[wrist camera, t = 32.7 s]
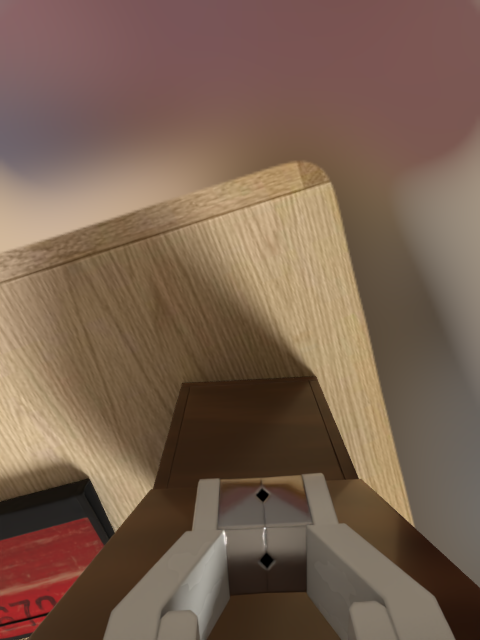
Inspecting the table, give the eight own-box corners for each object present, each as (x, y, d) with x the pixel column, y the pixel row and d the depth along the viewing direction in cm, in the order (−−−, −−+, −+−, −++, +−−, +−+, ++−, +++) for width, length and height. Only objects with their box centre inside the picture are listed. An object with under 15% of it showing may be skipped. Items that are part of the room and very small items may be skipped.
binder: (-131, 550, 38) (81, 493, 36) (-111, 529, 40) (89, 475, 39) (-40, 658, 44) (148, 613, 42) (-27, 634, 46) (152, 590, 44)
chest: (315, 512, 40) (352, 662, 28) (196, 518, 40) (177, 670, 28) (316, 375, 36) (359, 480, 23) (181, 382, 36) (152, 490, 23)
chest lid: (616, 755, 7) (608, 703, 7) (-55, 784, 7) (-53, 732, 7) (363, 493, 23) (361, 478, 23) (150, 504, 23) (150, 488, 23)
